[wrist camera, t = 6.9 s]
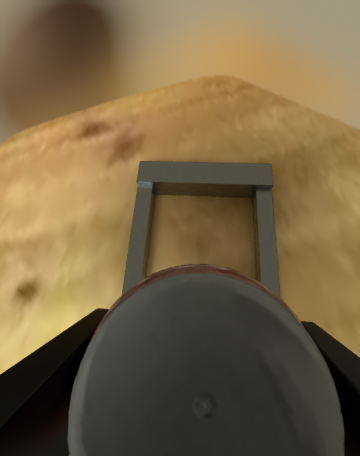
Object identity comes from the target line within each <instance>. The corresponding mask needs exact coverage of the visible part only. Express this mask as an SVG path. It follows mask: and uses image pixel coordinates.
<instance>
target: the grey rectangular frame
mask: <svg viewBox="0 0 360 456" xmlns="http://www.w3.org/2000/svg"><path fill="white" fill-rule="evenodd" d="M137 183H138V188H137V195H136V202H135V208H134V215H133V222H132V229H131V236H130V242H129V249H128V256H127V263H126V270H125V276H124V283H123V290H122V295H123V294H125V293H126V292H127V291H128V290H129V289H130V288H132V287H133V286H134V285H136V284H137V283H138V282H139V281H140V280H142V279H145V275H146V266H147V257H148V249H149V240H150V232H151V223H152V214H153V206H154V197H155V194H156V195H189V196H222V197H252V198H253V219H254V240H255V261H256V280H257V281H258V282H259V283H261V284H262V285H264V286H266V287H267V288H269V289H270V290H271V291H272V292H274V293H275V294H276V295H277V296H279V297H280V289H279V276H278V264H277V251H276V239H275V227H274V214H273V202H272V189H271V188H272V186H273V178H272V166H271V164H249V163H203V162H156V161H140V163H139V170H138V177H137Z"/></svg>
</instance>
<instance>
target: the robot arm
mask: <svg viewBox="0 0 360 456" xmlns="http://www.w3.org/2000/svg"><path fill="white" fill-rule="evenodd" d="M108 310H109V309H101V308H98V309H96V310H94V311H93V312H91V313H90V314H88V315H87V316H85V317H84V318H82V319H81V320H80V321H78V322H77V323H75V324H74V325H72V326H71V327H69V328H68V329H66V330H65V331H63V332H62V333H61V334H59V335H58V336H56V337H55V338H53V339H52V340H50V341H49V342H47V343H46V344H44V345H43V346H41V347H40V348H39V349H37V350H36V351H34V352H33V353H31V354H30V355H28V356H27V357H25V358H24V359H22V360H21V361H20V362H18V363H17V364H15V365H14V366H12V367H11V368H9V369H8V370H6V371H5V372H3V373H2V374H0V456H69V446H68V441H67V440H68V422H69V407H70V401H71V394H72V391H73V385H74V381H75V378H76V376H77V373H78V370H79V367H80V363H81V361H82V359H83V357H84V355H85V352H86V350H87V347H88V345H89V343H90V341H91V339H92V337H93V335H94V333H95V330H96V329H97V327H98V325H99V323H100V322H101V320H102V319H103V317H104V315H105V314H106V313H107V312H108ZM300 322H301V323H302V325H303V326H304V328H305V330H306V331H307V332H308V333H309V335H310V336H311V338H312V339H313V341H314V342H315V344H316V346H317V347H318V349H319V350H320V352H321V354H322V355H323V358H324V360H325V362H326V364H327V366H328V368H329V371H330V374H331V376H332V379H333V381H334V384H335V388H336V391H337V395H338V398H339V402H340V406H341V413H342V416H343V423H344V456H360V357H358V356H357V355H356V354H354V353H353V352H352V351H350V350H349V349H348V348H346V347H345V346H344V345H343V344H341V343H340V342H339V341H337V340H336V339H335V338H333V337H332V336H331V335H329V334H328V333H327V332H325V331H324V330H323V329H322V328H320V327H319V326H318V325H316V324H315V323H313V322H307V321H300Z"/></svg>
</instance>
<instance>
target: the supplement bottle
mask: <svg viewBox="0 0 360 456" xmlns="http://www.w3.org/2000/svg"><path fill="white" fill-rule="evenodd" d="M67 441H68V446H69V455H70V456H344V423H343V416H342V413H341V406H340V402H339V398H338V395H337V391H336V388H335V384H334V381H333V379H332V376H331V374H330V371H329V368H328V366H327V364H326V362H325V360H324V358H323V355H322V354H321V352H320V350H319V349H318V347H317V346H316V344H315V342H314V341H313V339H312V338H311V336H310V335H309V333H308V332H307V331H306V330H305V328H304V326H303V325H302V323H301V322H300V320H299V319H298V317H297V316H296V315H295V314H294V312H293V311H292V310H291V309H290V308H289V307H288V306H287V304H286V303H285V302H284V301H282V300H281V298H280V297H279V296H277V295H276V294H275V293H274V292H272V291H271V290H270V289H269V288H267V287H266V286H264V285H262V284H261V283H259V282H258V281H257V280H255V279H253V278H251V277H249V276H247V275H245V274H242V273H240V272H238V271H235V270H233V269H229V268H225V267H222V266H217V265H207V264H190V265H181V266H175V267H170V268H168V269H164V270H161V271H159V272H156V273H153V274H152V275H150V276H148V277H146V278H145V279H142V280H140V281H139V282H138V283H137V284H136V285H134V286H133V287H132V288H130V289H129V290H128V291H127V292H126V293H125V294H123V295H122V296H121V297H120V298H119V299H118V300H117V301H116V302H115V303H114V304H113V305H112V306H111V308H110V309H109V310H108V312H107V313H106V314H105V315H104V317H103V319H102V320H101V322H100V323H99V325H98V327H97V329H96V330H95V333H94V335H93V337H92V339H91V341H90V343H89V345H88V347H87V350H86V352H85V355H84V357H83V359H82V361H81V363H80V367H79V370H78V373H77V376H76V378H75V381H74V385H73V391H72V394H71V401H70V407H69V422H68V440H67Z"/></svg>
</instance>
